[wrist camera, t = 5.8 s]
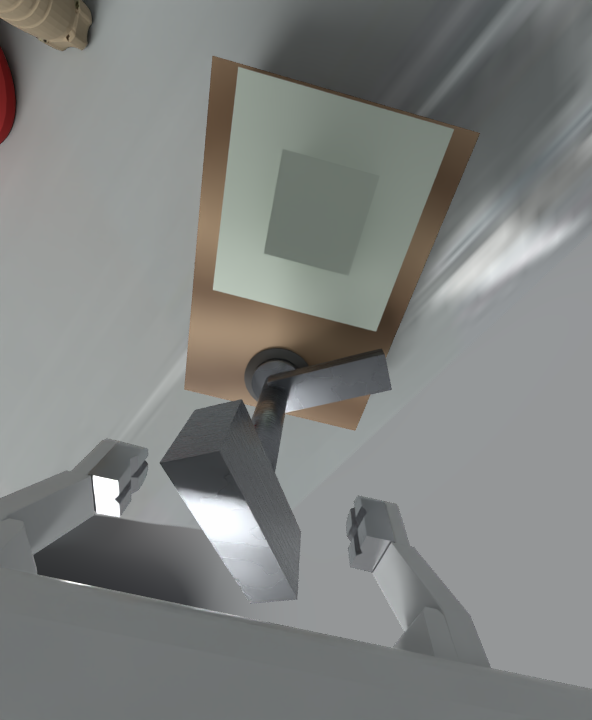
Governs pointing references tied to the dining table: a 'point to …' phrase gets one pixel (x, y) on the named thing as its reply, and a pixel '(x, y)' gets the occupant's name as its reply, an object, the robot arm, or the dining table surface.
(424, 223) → the case
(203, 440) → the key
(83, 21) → the handle
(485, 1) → the dining table surface
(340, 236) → the lid
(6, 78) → the canned food
